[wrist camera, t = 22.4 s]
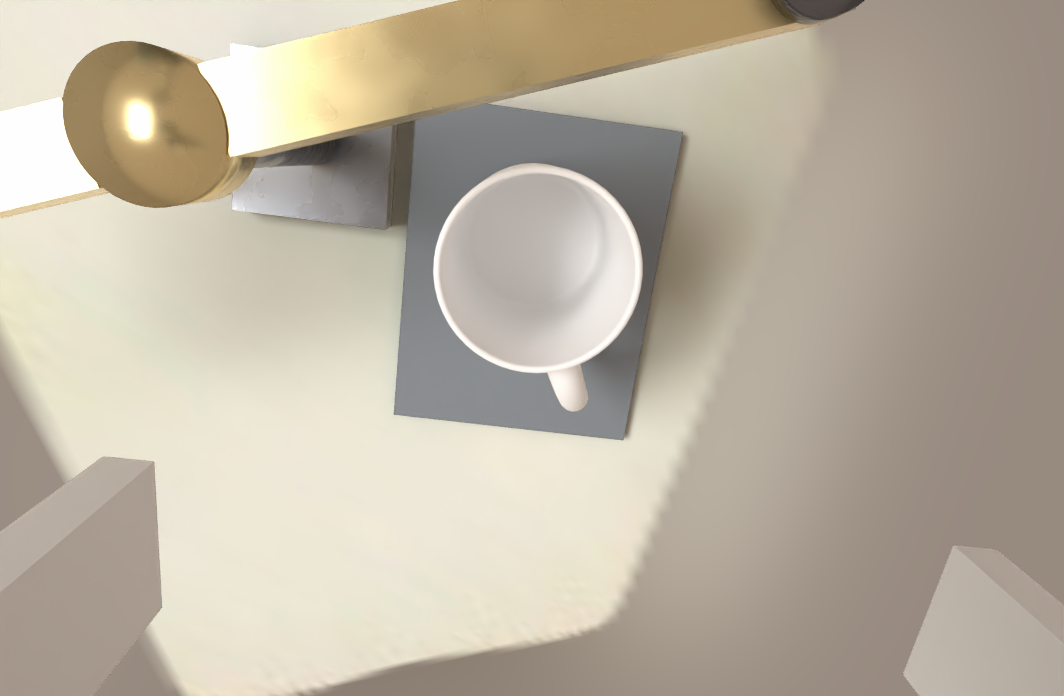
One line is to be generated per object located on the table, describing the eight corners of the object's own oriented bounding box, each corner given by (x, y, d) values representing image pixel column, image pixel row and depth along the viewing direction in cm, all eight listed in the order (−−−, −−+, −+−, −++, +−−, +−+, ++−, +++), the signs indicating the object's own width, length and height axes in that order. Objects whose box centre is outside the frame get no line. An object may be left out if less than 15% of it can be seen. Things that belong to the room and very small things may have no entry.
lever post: (243, 48, 31) (54, -27, 19) (401, 71, 32) (322, 13, 19) (244, 207, 34) (75, 238, 21) (391, 226, 34) (315, 268, 21)
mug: (634, 353, 36) (677, 426, 26) (497, 387, 37) (491, 472, 27) (588, 144, 33) (619, 139, 23) (438, 185, 33) (404, 197, 23)
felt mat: (418, 94, 32) (417, 93, 32) (680, 132, 33) (682, 132, 33) (395, 410, 38) (393, 414, 37) (621, 436, 38) (623, 440, 38)
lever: (820, -105, 18) (883, -160, 15) (831, 55, 19) (891, 36, 16) (-371, 188, 20) (-540, 194, 17) (-288, 317, 21) (-430, 346, 18)
